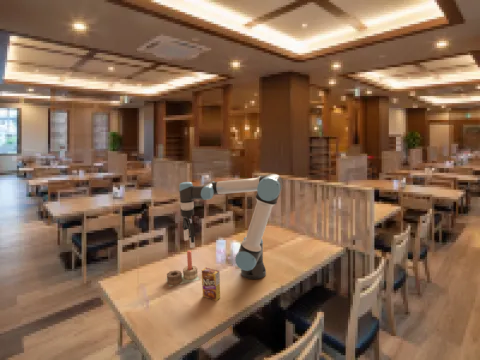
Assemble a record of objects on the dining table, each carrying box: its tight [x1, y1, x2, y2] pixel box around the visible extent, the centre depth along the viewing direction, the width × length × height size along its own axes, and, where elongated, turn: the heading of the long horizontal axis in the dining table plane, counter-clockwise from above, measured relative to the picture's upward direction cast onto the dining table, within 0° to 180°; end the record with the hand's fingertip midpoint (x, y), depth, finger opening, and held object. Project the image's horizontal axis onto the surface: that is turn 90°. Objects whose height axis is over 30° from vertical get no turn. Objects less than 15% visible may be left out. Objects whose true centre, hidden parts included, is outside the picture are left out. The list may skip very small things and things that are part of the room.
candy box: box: [201, 267, 221, 302], centre depth 154 cm, size 9×4×15 cm, turn 61°
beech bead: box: [182, 265, 199, 280], centre depth 177 cm, size 8×8×5 cm
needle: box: [186, 250, 193, 270], centre depth 176 cm, size 3×3×16 cm
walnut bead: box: [166, 270, 183, 286], centre depth 171 cm, size 8×8×5 cm
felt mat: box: [165, 274, 200, 287], centre depth 174 cm, size 18×10×1 cm, turn 114°
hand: (189, 243), depth 174 cm, fingers open, 13 cm apart
